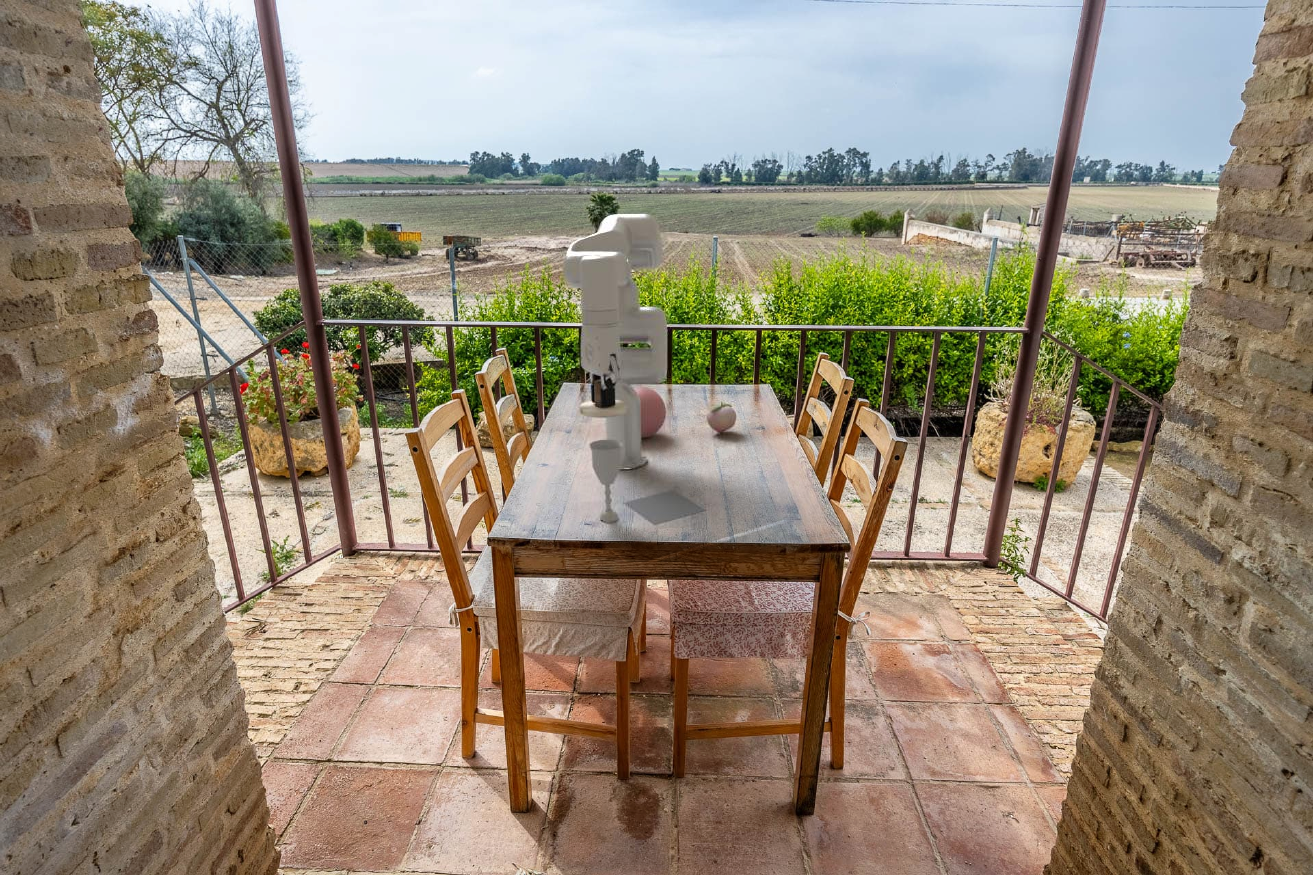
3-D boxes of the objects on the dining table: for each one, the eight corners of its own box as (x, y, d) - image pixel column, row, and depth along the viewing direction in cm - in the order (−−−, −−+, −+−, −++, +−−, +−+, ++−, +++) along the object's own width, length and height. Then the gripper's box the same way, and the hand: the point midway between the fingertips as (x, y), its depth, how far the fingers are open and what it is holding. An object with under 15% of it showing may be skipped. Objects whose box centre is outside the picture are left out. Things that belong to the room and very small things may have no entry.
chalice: (625, 513, 160) (623, 439, 155) (624, 526, 154) (622, 449, 148) (593, 514, 160) (589, 439, 154) (591, 527, 154) (588, 450, 148)
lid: (572, 409, 151) (570, 380, 148) (612, 401, 156) (611, 373, 154) (593, 420, 143) (592, 390, 140) (635, 412, 148) (635, 383, 145)
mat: (623, 504, 165) (623, 502, 165) (673, 492, 172) (673, 489, 171) (654, 527, 153) (654, 524, 153) (706, 512, 160) (706, 510, 160)
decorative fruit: (725, 440, 208) (726, 407, 205) (702, 435, 213) (702, 403, 210) (741, 431, 215) (742, 400, 212) (719, 427, 220) (719, 396, 217)
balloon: (669, 424, 223) (668, 377, 218) (664, 445, 204) (663, 394, 199) (621, 423, 224) (619, 377, 219) (611, 444, 206) (610, 394, 201)
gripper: (566, 314, 148) (570, 398, 153) (602, 325, 134) (605, 416, 140) (598, 311, 151) (601, 393, 157) (636, 321, 138) (638, 410, 144)
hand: (603, 403), depth 149 cm, fingers closed on lid, 3 cm apart
